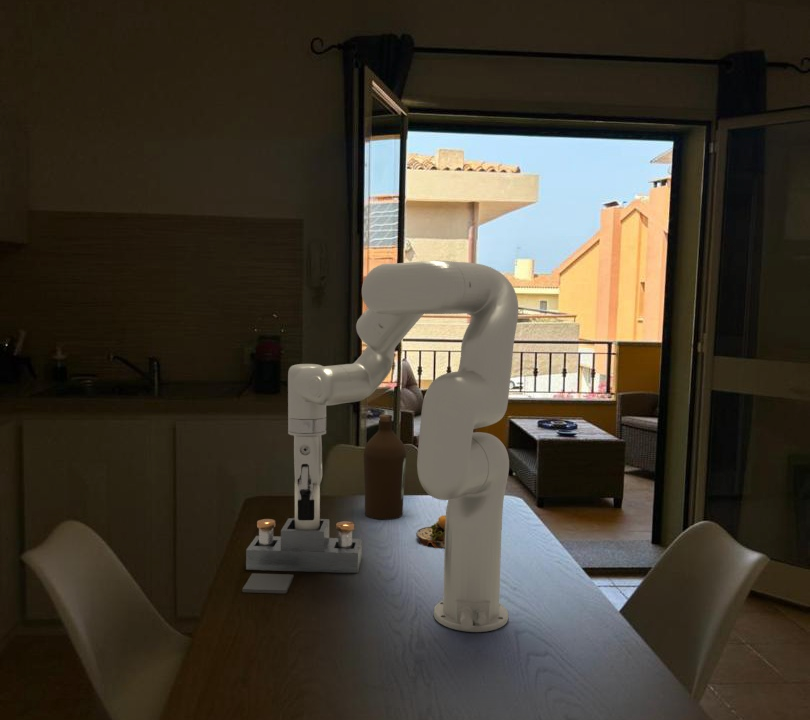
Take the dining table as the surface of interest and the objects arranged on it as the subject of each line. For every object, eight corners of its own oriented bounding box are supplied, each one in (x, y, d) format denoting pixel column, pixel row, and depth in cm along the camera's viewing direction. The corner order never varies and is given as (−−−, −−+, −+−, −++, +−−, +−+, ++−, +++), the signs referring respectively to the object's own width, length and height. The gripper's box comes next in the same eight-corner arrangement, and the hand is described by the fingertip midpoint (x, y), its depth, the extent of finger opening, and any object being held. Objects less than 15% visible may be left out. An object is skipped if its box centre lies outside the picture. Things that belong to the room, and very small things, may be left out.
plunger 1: (273, 563, 153) (273, 524, 153) (255, 563, 154) (255, 523, 153) (276, 557, 157) (276, 519, 156) (259, 557, 157) (259, 518, 157)
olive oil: (366, 521, 185) (368, 419, 183) (359, 509, 196) (360, 412, 194) (409, 519, 188) (411, 418, 186) (399, 507, 198) (401, 411, 196)
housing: (361, 557, 159) (362, 519, 159) (357, 573, 150) (358, 533, 150) (256, 554, 160) (256, 516, 159) (246, 569, 151) (246, 529, 150)
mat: (286, 593, 139) (286, 590, 139) (242, 592, 139) (242, 589, 139) (293, 577, 147) (293, 574, 147) (252, 576, 147) (252, 573, 147)
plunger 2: (352, 566, 153) (353, 526, 152) (334, 565, 153) (335, 526, 153) (354, 559, 157) (355, 521, 156) (336, 559, 157) (337, 521, 156)
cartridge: (318, 542, 152) (318, 478, 151) (293, 542, 152) (293, 478, 151) (320, 535, 157) (320, 472, 156) (296, 535, 157) (295, 472, 156)
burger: (448, 530, 181) (449, 499, 180) (478, 544, 171) (479, 511, 170) (405, 538, 174) (405, 505, 174) (434, 553, 164) (435, 518, 164)
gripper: (323, 433, 145) (323, 528, 146) (328, 419, 161) (328, 504, 163) (283, 433, 144) (283, 528, 145) (292, 419, 161) (292, 505, 162)
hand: (307, 514), depth 154 cm, fingers closed on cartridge, 5 cm apart
